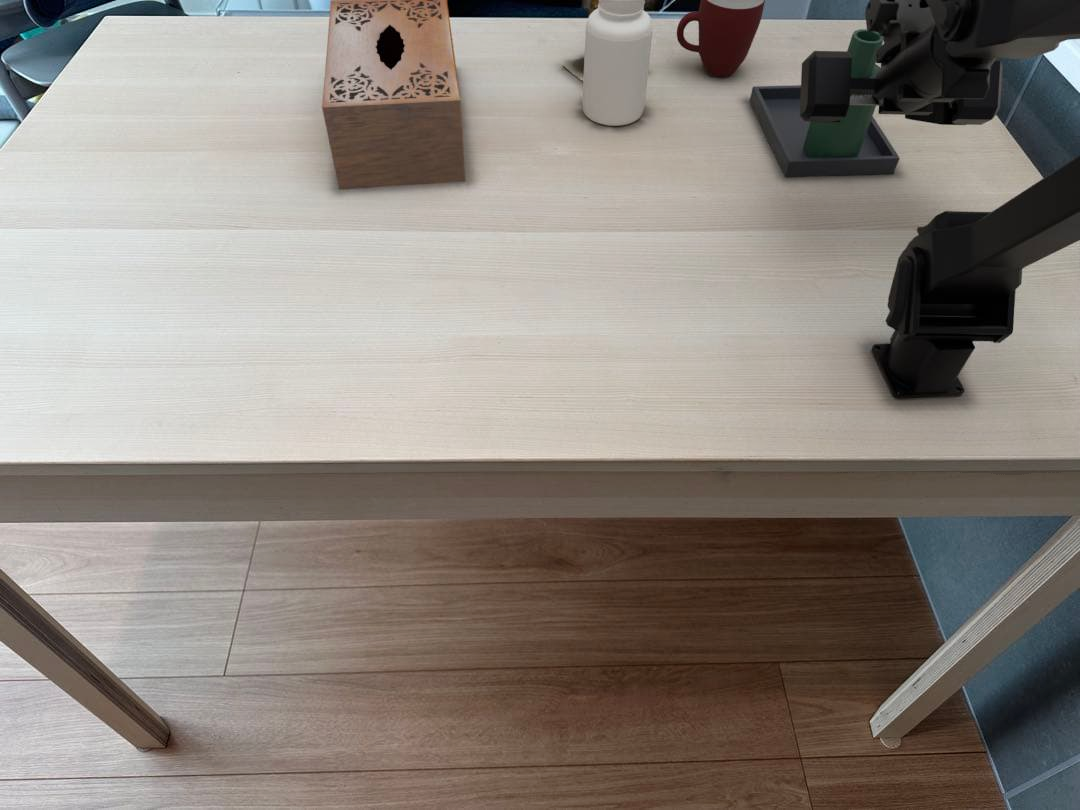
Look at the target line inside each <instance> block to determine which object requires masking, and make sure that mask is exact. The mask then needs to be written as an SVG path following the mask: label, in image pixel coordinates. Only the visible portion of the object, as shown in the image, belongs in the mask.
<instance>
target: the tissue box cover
mask: <svg viewBox="0 0 1080 810" xmlns="http://www.w3.org/2000/svg"><path fill="white" fill-rule="evenodd" d="M327 30H328V31H327V42H326V56H325V65H324V66H325V68H324V79H323V80H324V81H323V91H322V92H323V93H322V104H321V109H322V113H323V118H324V123H325V128H326V133H327V137H328V142H329V147H330V152H331V157H332V163H333V166H334V171H335V176H336V181H337V186H338V189H339V190H350V189H363V188H366V189H367V188H379V187H381V188H382V187H395V186H396V187H397V186H411V185H426V184H427V185H429V184H442V183H459V182H460V183H461V182H466V181H467V179H466V166H465V164H466V163H465V148H464V135H463V134H464V133H463V121H462V119H463V118H462V104H461V93H460V87H459V79H458V72H457V71H458V70H457V65H456V57H455V50H454V42H453V35H452V26H451V19H450V12H449V6H448V0H330V5H329V18H328V29H327Z"/></svg>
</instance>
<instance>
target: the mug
mask: <svg viewBox="0 0 1080 810" xmlns="http://www.w3.org/2000/svg"><path fill="white" fill-rule="evenodd" d="M765 3H766V0H700V4H699V7H698V11H689V12H687V13H686V14H684V15H683V17H682V18H681V19H680V20H679V22H678V24H677V27H676V39H677V42H678V44H679V45H680V46H681V47H682V48H683V49H685V50H686V51H689V52H694V53H698V55H699V57H700V60H701V63H702V66H703V68H704V71H705V73H707V75H710V76H712V77H714V78H728V77H731V76H732V75H734V73H736V71H737V70H738V68H739V67H740V66H741V65H742V64H743V62H744V61H745V60H746V58H747V56H748V54H749V51H750V49H751V47H752V44H753V42H754V39H755V36H756V35H757V31H758V29H759V27H760V24H761V21H762V17H763V12H764V9H765ZM691 22H698V23H697V24H698V44H693V43H690V42H688V41H687V39H686V38H685V35H684V34H685V33H684V32H685V29H686V27H687V25H688V24H689V23H691Z"/></svg>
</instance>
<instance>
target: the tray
mask: <svg viewBox="0 0 1080 810" xmlns="http://www.w3.org/2000/svg"><path fill="white" fill-rule="evenodd" d="M800 98H801V84H799V85H798V84H797V85H796V84H795V85H757V86H756V85H753V86H752V88H751V93H750V97H749V103H750V106H751V108H752V111H753V112H754V115H755V116H756V119H757V120H758V123H759V124H760V128H761V129H762V131H763V134H764V135H765V138H766V139H767V142H768V144H769V146H770V148H771V150H772V153H773V155H774V157H775V158H776V161H777V163H778V165H779V167H780V170H781V172H782V174H783V176H784V177H785V178H793V177H794V178H795V177H827V176H829V177H831V176H859V175H863V176H864V175H891V174H895V171H896V169H897V166H898V163H899V161H900V159H901V158H900V157H899V154H898V153H897V151H896V150H895V148H894V147H893V145H892V144H891V142H890V141H889V138H887V136H886V135H885V133H884V131H883V130H882V128H881V126H880V125H879V123H878V122H877V121H876V119H875V118H874V115H873V116H872V119H871V121H870V124H869V127H868V130H867V132H866V135H865V138H864V141H863V143H862V146H861V149H860V152H859V155H858V157H833V158H809V157H808V156H807V155H806V154H805V152H804V150H803V146H804V142H805V139H806V136H807V132H808V129H809V126H810V122H805V121H804V120H803V119H802V118H801V116H800Z"/></svg>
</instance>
